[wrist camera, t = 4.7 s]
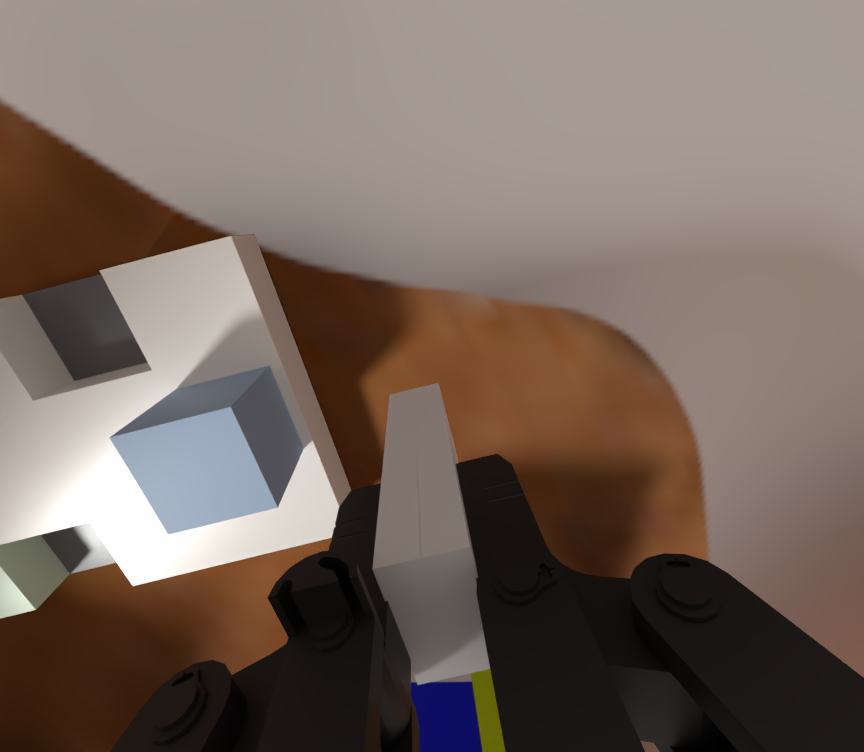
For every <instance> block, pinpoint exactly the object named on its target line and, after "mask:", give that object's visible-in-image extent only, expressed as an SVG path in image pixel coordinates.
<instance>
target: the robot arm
mask: <svg viewBox="0 0 864 752" xmlns="http://www.w3.org/2000/svg"><path fill="white" fill-rule="evenodd" d="M268 599H269V601H270V603H271V605H272V607H273V609H274V611H275V613H276V614H277V616H278V618H279V620H280V622H281V624H282V626H283V627H284V629H285V631H286V633H287V635H288V637H289V638H288V641H287V644H285V645H284V646H283V647H281V648H280V649H278V650H277V651H275V652H273V653H272V654H270V655H268V656H267V657H265V658H263V659H261V660H259V661H257V662H255V663H254V664H252V665H250V666H248V667H246V668H244V669H243V670H241V671H239V672H237V673H235V674H233V675H231V673H230V671H229V670H228V668H227V667H226V665H225V664H223V663H220V662H217V661H214V660H210V661H204V662H199V663H195V664H194V665H192V666H190V667H188V668H186V669H184V670H182V671H180V672H178V673H177V674H176V675H174V676H173V677H172V678H171V679H169V680H168V681H167V682H166V683H165V684H163V685H162V686H161V687H160V688H158V690H157V691H156V692H155V693H154V694H153V695H152V697H151V698H150V699H149V700H148V701H147V702H146V704H145V705H144V706H143V707H142V708H141V709H140V711H139V712H138V714H137V715H136V716H135V718H134V719H133V721H132V722H131V723H130V725H129V726H128V728H127V729H126V730H125V732H124V733H123V735H122V736H121V737H120V739H119V740H118V742H117V743H116V744H115V746H114V747H113V748H112V750H111V751H110V752H420V737H419V721H418V716H417V711H416V708H415V705H414V703H413V700H412V698H411V669H412V672H413V674H414V677H415V679H416V682H417V684H418V685H420V684H425V683H429V682H434V681H438V680H443V679H447V678H451V677H456V676H460V675H465V674H469V673H474V672H478V671H483V670H487V669H490V670H491V676H492V681H493V687H494V692H495V697H496V703H497V708H498V714H499V719H500V725H501V730H502V736H503V741H504V747H505V752H645V751H644V748H643V746H642V744H641V742H640V740H641V741H646V742H651V743H655V745H656V747H657V748H658V750H659V751H660V752H864V678H863V677H862V676H860V675H859V674H858V673H857V672H855V671H854V670H853V669H851V668H850V667H849V666H848V665H846V664H845V663H844V662H842V661H841V660H840V659H838V658H837V657H836V656H835V655H833V654H832V653H831V652H829V651H828V650H827V649H826V648H824V647H823V646H822V645H820V644H819V643H818V642H817V641H815V640H814V639H813V638H811V637H810V636H809V635H807V634H806V633H805V632H803V631H802V630H801V629H800V628H798V627H797V626H796V625H794V624H793V623H792V622H790V621H789V620H788V619H787V618H785V617H784V616H783V615H781V614H780V613H779V612H777V611H776V610H775V609H774V608H772V607H771V606H769V605H768V604H767V603H766V602H764V601H763V600H762V599H761V598H759V597H758V596H757V595H755V594H754V593H753V592H751V591H750V590H749V589H748V588H746V587H745V586H744V585H742V584H741V583H740V582H738V581H737V580H736V579H735V578H733V577H732V576H731V575H729V574H728V573H727V572H725V571H723V570H721V569H720V568H718V567H716V566H715V565H713V564H711V563H710V562H708V561H705V560H702V559H699V558H695V557H692V556H689V555H685V554H665V553H664V554H660V555H657V556H653V557H649V558H646V559H645V560H644V561H643V562H641V563H640V564H639V565H638V566H636V567H635V568H634V571H633V573H632V576H631V578H630V579H628V578H612V577H599V576H592V575H586V574H583V573H580V572H577V571H574V570H572V569H570V568H568V567H567V566H565V565H563V564H562V563H560V562H559V561H558V560H557V559H556V558H555V557H554V556H553V555H552V554H551V552H550V551H549V549H548V547H547V546H546V543H545V541H544V539H543V536H542V534H541V532H540V530H539V527H538V525H537V523H536V520H535V518H534V516H533V513H532V511H531V509H530V506H529V504H528V502H527V499H526V497H525V495H524V493H523V490H522V488H521V485H520V483H519V482H518V478H517V476H516V474H515V471H514V469H513V467H512V464H510V463H509V462H508V461H506V460H505V459H504V458H502V457H501V456H500V455H498V454H494V455H490V456H486V457H482V458H478V459H473V460H469V461H465V462H461V463H459V462H458V458H457V454H456V450H455V446H454V442H453V438H452V434H451V431H450V427H449V423H448V419H447V415H446V411H445V407H444V403H443V399H442V395H441V392H440V388H439V384H438V383H436V384H432V385H428V386H424V387H420V388H416V389H412V390H407V391H403V392H399V393H395V394H391V395H390V398H389V408H388V418H387V428H386V438H385V448H384V458H383V468H382V478H381V483H380V484H376V485H372V486H368V487H363V488H359V489H355V490H351V491H350V493H349V494H348V495H347V497H346V498H345V500H344V501H343V502H342V504H341V505H340V506H339V510H338V514H337V518H336V522H335V528H334V530H333V535H332V542H331V543H330V547H329V551H322V552H319V553H316V554H314V555H311V556H308V557H306V558H304V559H303V560H301V561H300V562H298V563H297V564H295V565H294V566H292V567H291V568H289V569H288V570H287V571H286V572H285V573H284V575H283V576H282V577H281V578H280V579H279V580H278V581H277V582H276V583H275V585H274V587H273V589H272V591H271V592H270V594H269V596H268Z"/></svg>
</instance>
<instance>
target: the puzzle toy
mask: <svg viewBox="0 0 864 752" xmlns="http://www.w3.org/2000/svg"><path fill="white" fill-rule="evenodd" d="M411 698H412V700H413V703H414V705H415V708H416V711H417V716H418V721H419V737H420V752H505V747H504V741H503V736H502V730H501V725H500V719H499V714H498V708H497V703H496V697H495V692H494V687H493V681H492V676H491V670H490V669H487V670H483V671H478V672H474V673H469V674H465V675H460V676H456V677H451V678H447V679H443V680H438V681H434V682H429V683H425V684H420V685H418V684H417V682H416V679H415V677H414V674H413V672H412V669H411Z"/></svg>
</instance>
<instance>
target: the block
mask: <svg viewBox="0 0 864 752" xmlns="http://www.w3.org/2000/svg"><path fill="white" fill-rule="evenodd" d="M109 438H110V440H111V441H112V443H113V445H114V446H115V448H116V450H117V451H118V453H119V455H120V456H121V458H122V459H123V461H124V463H125V464H126V466H127V468H128V469H129V471H130V473H131V474H132V476H133V478H134V479H135V481H136V483H137V484H138V486H139V487H140V489H141V491H142V492H143V494H144V496H145V497H146V499H147V501H148V502H149V504H150V506H151V507H152V509H153V511H154V512H155V514H156V516H157V517H158V519H159V520H160V522H161V524H162V525H163V527H164V529H165V530H166V532H167V534H168V535H169V534H173V533H177V532H181V531H185V530H189V529H193V528H197V527H202V526H206V525H210V524H214V523H218V522H222V521H226V520H230V519H234V518H238V517H242V516H246V515H250V514H254V513H258V512H262V511H266V510H270V509H274V508H278V506H279V504H280V502H281V499H282V497H283V495H284V493H285V490H286V488H287V486H288V483H289V481H290V479H291V477H292V474H293V472H294V470H295V468H296V465H297V463H298V461H299V459H300V456H301V454H302V452H303V449H304V448H303V445H302V443H301V440H300V438H299V435H298V433H297V431H296V428H295V426H294V423H293V421H292V419H291V416H290V414H289V411H288V409H287V406H286V404H285V402H284V399H283V397H282V394H281V392H280V389H279V387H278V385H277V382H276V380H275V377H274V375H273V372H272V370H271V368H270V366H266V367H262V368H258V369H254V370H250V371H246V372H242V373H238V374H235V375H231V376H227V377H223V378H219V379H215V380H211V381H207V382H203V383H199V384H195V385H191V386H187V387H184V388H180V389H176V390H174V391H173V392H171V393H170V394H169V395H167V396H166V397H164V398H163V399H162V400H160V401H159V402H158V403H156V404H155V405H153V406H152V407H151V408H149V409H148V410H147V411H145V412H144V413H142V414H141V415H140V416H138V417H137V418H136V419H134V420H133V421H131V422H130V423H129V424H127V425H126V426H125V427H123V428H122V429H120V430H119V431H118V432H116V433H115V434H114V435H112V436H111V437H109Z"/></svg>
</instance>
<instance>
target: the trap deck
mask: <svg viewBox="0 0 864 752" xmlns="http://www.w3.org/2000/svg"><path fill="white" fill-rule="evenodd" d="M99 271H100V273H101V274H99V275H95V276H92V277H88V278H84V279H80V280H76V281H73V282H69V283H65V284H61V285H57V286H54V287H50V288H46V289H42V290H38V291H34V292H31V293H27V294H23V295H18V296H13V297H7V298H2V299H0V619H1V618H5V617H9V616H13V615H17V614H21V613H25V612H29V611H33V610H36V609H37V608H38V607H39V606H40V605H41V604H42V603H43V602H44V601H45V600H46V599H47V598H48V597H49V596H50V595H51V593H52V592H53V591H54V590H55V589H56V588H57V587H58V586H59V585H60V584H61V583H62V582H63V581H64V580H65V579H66V578H67V577H68V576H69V575H70V574H72V573H76V572H80V571H84V570H88V569H92V568H96V567H101V566H105V565H109V564H113V563H117V564H118V565H119V567H120V568H121V570H122V571H123V573H124V574H125V576H126V577H127V578H128V580H129V581H130V583H131V584H132V586H136V585H140V584H144V583H148V582H152V581H156V580H160V579H164V578H168V577H172V576H177V575H181V574H185V573H189V572H193V571H197V570H201V569H205V568H209V567H213V566H217V565H221V564H226V563H230V562H234V561H238V560H242V559H246V558H250V557H254V556H258V555H262V554H266V553H271V552H275V551H279V550H283V549H287V548H291V547H295V546H299V545H303V544H307V543H311V542H315V541H320V540H324V539H328V538H332V535H333V530H334V528H335V522H336V518H337V514H338V510H339V506H340V505H341V504H342V502H343V501H344V500H345V498H346V497H347V495H348V494H349V493H350V491H351V488H350V485H349V482H348V480H347V477H346V474H345V472H344V469H343V466H342V464H341V461H340V459H339V456H338V453H337V451H336V448H335V445H334V443H333V440H332V437H331V435H330V432H329V430H328V427H327V424H326V422H325V419H324V416H323V414H322V411H321V409H320V406H319V403H318V401H317V398H316V395H315V393H314V390H313V387H312V385H311V382H310V380H309V377H308V374H307V372H306V369H305V366H304V364H303V361H302V358H301V356H300V353H299V351H298V348H297V345H296V343H295V340H294V337H293V335H292V332H291V329H290V327H289V324H288V322H287V319H286V316H285V314H284V311H283V308H282V306H281V303H280V300H279V298H278V295H277V293H276V290H275V287H274V285H273V282H272V279H271V277H270V274H269V272H268V269H267V266H266V264H265V261H264V258H263V256H262V253H261V250H260V248H259V245H258V243H257V240H256V237H255V235H254V234H253V235H237V236H228V237H225V238H221V239H217V240H213V241H209V242H206V243H202V244H198V245H194V246H190V247H187V248H183V249H179V250H175V251H171V252H168V253H164V254H160V255H156V256H152V257H148V258H145V259H141V260H137V261H133V262H129V263H126V264H122V265H118V266H114V267H110V268H107V269H103V270H99ZM266 366H270V368H271V370H272V372H273V375H274V377H275V380H276V382H277V385H278V387H279V389H280V392H281V394H282V397H283V399H284V402H285V404H286V406H287V409H288V411H289V414H290V416H291V419H292V421H293V423H294V426H295V428H296V431H297V433H298V435H299V438H300V440H301V443H302V445H303V448H304V449H303V452H302V454H301V456H300V459H299V461H298V463H297V465H296V468H295V470H294V472H293V474H292V477H291V479H290V481H289V483H288V486H287V488H286V490H285V493H284V495H283V497H282V499H281V502H280V504H279V506H278V508H274V509H270V510H266V511H262V512H258V513H254V514H250V515H246V516H242V517H238V518H234V519H230V520H226V521H222V522H218V523H214V524H210V525H206V526H202V527H197V528H193V529H189V530H185V531H181V532H177V533H173V534H169V535H168V534H167V532H166V530H165V529H164V527H163V525H162V524H161V522H160V520H159V519H158V517H157V516H156V514H155V512H154V511H153V509H152V507H151V506H150V504H149V502H148V501H147V499H146V497H145V496H144V494H143V492H142V491H141V489H140V487H139V486H138V484H137V483H136V481H135V479H134V478H133V476H132V474H131V473H130V471H129V469H128V468H127V466H126V464H125V463H124V461H123V459H122V458H121V456H120V455H119V453H118V451H117V450H116V448H115V446H114V445H113V443H112V441H111V440H110V438H109V437H111V436H112V435H114V434H115V433H116V432H118V431H119V430H120V429H122V428H123V427H125V426H126V425H127V424H129V423H130V422H131V421H133V420H134V419H136V418H137V417H138V416H140V415H141V414H142V413H144V412H145V411H147V410H148V409H149V408H151V407H152V406H153V405H155V404H156V403H158V402H159V401H160V400H162V399H163V398H164V397H166V396H167V395H169V394H170V393H171V392H173V391H174V390H176V389H180V388H184V387H187V386H191V385H195V384H199V383H203V382H207V381H211V380H215V379H219V378H223V377H227V376H231V375H235V374H238V373H242V372H246V371H250V370H254V369H258V368H262V367H266Z"/></svg>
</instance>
